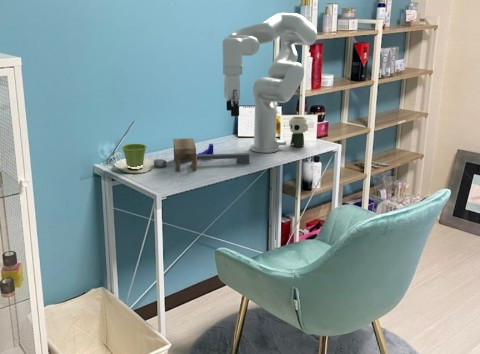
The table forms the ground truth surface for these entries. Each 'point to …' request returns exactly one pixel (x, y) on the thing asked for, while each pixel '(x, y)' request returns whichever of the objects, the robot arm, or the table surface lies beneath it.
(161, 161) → the steel token
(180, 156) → the brown block with legs
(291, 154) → the table surface
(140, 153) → the plant pot
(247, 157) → the scraper
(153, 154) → the table surface
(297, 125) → the character mug
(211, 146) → the blue shoe
